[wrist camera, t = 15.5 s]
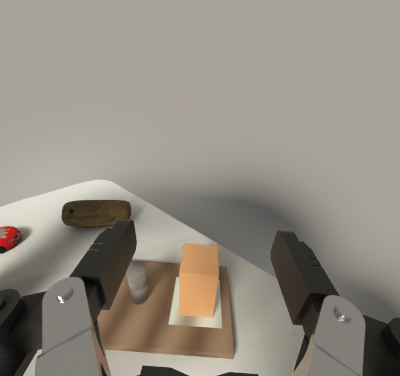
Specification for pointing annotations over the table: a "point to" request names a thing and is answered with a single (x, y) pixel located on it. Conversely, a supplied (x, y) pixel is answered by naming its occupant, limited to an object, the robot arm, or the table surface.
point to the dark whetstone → (95, 212)
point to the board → (164, 316)
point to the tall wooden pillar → (198, 280)
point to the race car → (8, 238)
